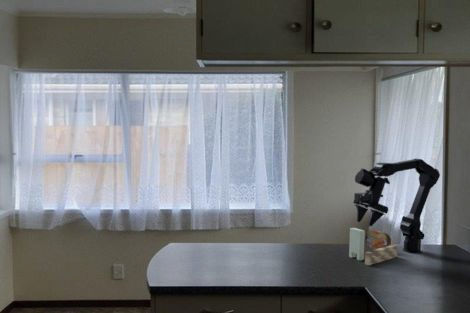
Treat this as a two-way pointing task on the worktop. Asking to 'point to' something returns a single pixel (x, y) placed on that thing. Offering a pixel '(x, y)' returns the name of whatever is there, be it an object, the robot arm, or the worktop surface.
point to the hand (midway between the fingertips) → (364, 223)
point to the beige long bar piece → (381, 254)
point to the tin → (377, 239)
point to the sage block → (356, 243)
